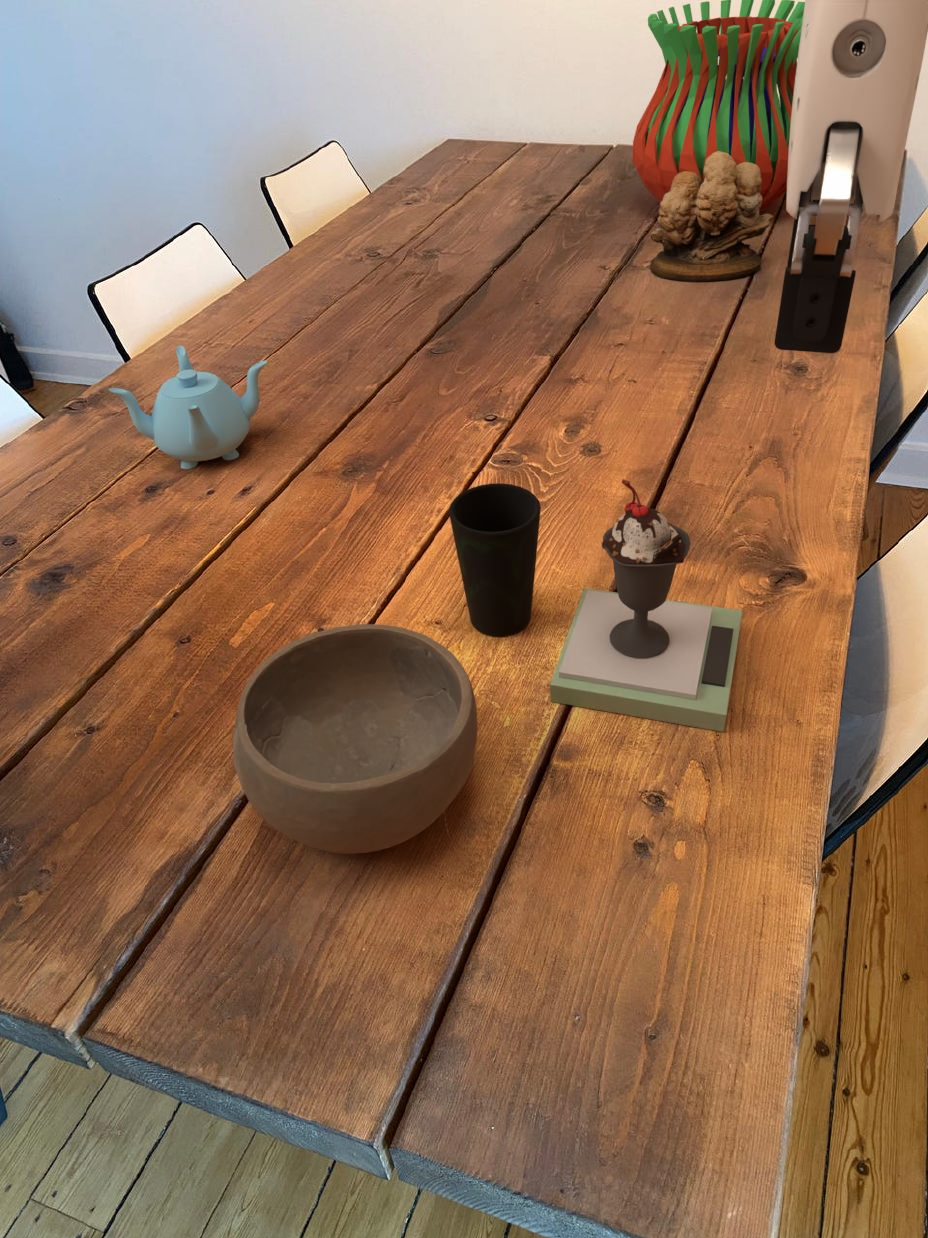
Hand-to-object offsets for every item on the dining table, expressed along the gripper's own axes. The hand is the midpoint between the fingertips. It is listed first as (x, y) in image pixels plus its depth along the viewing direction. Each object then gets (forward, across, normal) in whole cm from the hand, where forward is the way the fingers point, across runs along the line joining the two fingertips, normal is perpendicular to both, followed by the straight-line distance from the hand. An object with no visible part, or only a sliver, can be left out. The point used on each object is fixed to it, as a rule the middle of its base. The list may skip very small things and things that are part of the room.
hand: (810, 310), depth 52 cm
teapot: (+34, +32, +65) cm, 80 cm away
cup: (+34, +10, +22) cm, 42 cm away
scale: (+34, +7, +8) cm, 36 cm away
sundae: (+32, +7, +9) cm, 34 cm away
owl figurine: (+34, +99, +14) cm, 106 cm away
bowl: (+34, -12, +26) cm, 45 cm away
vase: (+34, +128, +16) cm, 134 cm away
